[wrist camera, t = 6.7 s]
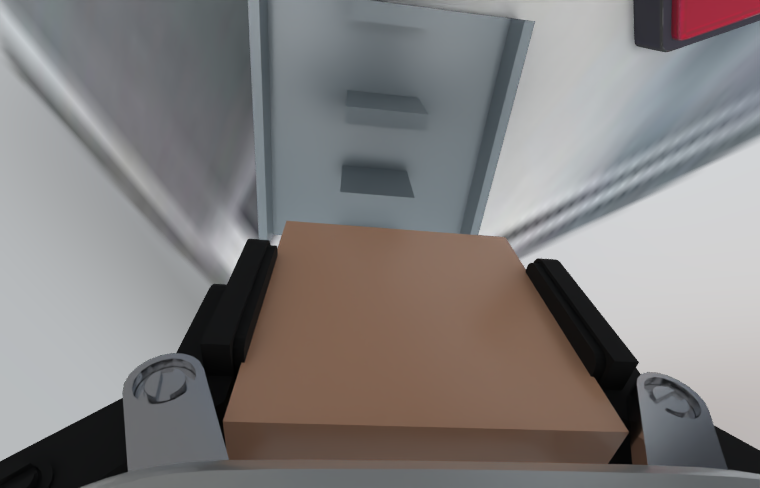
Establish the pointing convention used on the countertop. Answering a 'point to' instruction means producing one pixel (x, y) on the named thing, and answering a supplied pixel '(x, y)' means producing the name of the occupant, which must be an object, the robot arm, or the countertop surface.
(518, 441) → the tile
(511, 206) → the countertop surface
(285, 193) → the rack
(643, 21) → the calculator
